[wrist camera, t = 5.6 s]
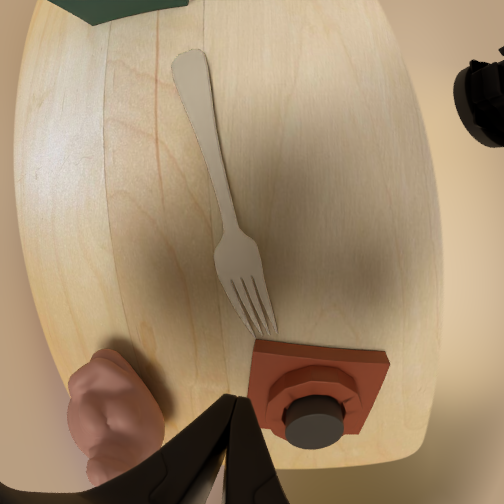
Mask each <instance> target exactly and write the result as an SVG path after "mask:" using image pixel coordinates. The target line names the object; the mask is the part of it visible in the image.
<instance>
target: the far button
mask: <svg viewBox="0 0 504 504" xmlns="http://www.w3.org/2000/svg"><path fill="white" fill-rule="evenodd" d="M343 432H344V424H343V417H342V410H341V406H340V404H339V403H338V402H337V401H336V400H335V399H334V398H332V397H330V396H326V395H318V394H315V395H308V396H305V397H301V398H299V399H297V400H295V401H294V402H293V403H292V404H291V405H290V406H289V407H288V409H287V412H286V424H285V437H286V439H287V440H288V442H289V443H290V444H292V445H294V446H296V447H298V448H302V449H320V448H324V447H327V446H330V445H332V444H334V443H335V442H337V441H338V440H339V439H340V438H341V436H342V435H343Z"/></svg>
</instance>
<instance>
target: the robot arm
mask: <svg viewBox="0 0 504 504" xmlns="http://www.w3.org/2000/svg"><path fill="white" fill-rule="evenodd" d="M499 51H500V53H501V54H502V55H503V56H504V46H503V47H502V48H500V49H499ZM474 64H475V65H474ZM469 65H470V74H471V75H470V79H471V94H472V106H473V123H474V125H475V126H476V127H478V128H481V129H483V130H486V131H488V132H490V133H492V134H495V135H497V136H499V137H501V138H503V139H504V60H503V61H501V62H498V63H497V62H494V63H492V64H490V65H488V66H487V65H485V64H483V63H481V62H479V61H477V60H474V59H473V60H471V61H470V62H469ZM477 119H478V120H479V123H478V121H477ZM225 454H226V457H225ZM224 457H225V468H224V480H223V493H222V504H290V503H289V501H288V499H287V498H286V495H285V493H284V491H283V488H282V486H281V484H280V481H279V479H278V476H277V475H276V471H275V468H274V465H273V462H272V460H271V457H270V454H269V451H268V448H267V446H266V443H265V440H264V437H263V434H262V431H261V428H260V425H259V423H258V420H257V417H256V414H255V411H254V408H253V405H252V402H251V399H250V398H247V397H242V396H238V397H237V396H236V395H231V394H223V395H222V396H221V397H220V398H219V399H218V400H217V401H216V402H214V403H213V404H212V405H211V406H210V407H209V408H208V409H207V410H205V411H204V412H203V413H202V414H201V415H200V416H199V417H197V418H196V419H195V420H194V421H193V422H192V423H190V424H189V425H188V426H187V427H186V428H184V429H183V430H182V431H181V432H180V433H178V434H177V435H176V436H175V437H174V438H172V439H171V440H170V441H169V442H167V443H166V444H165V445H164V446H162V447H161V448H160V449H159V450H157V451H156V452H155V453H153V454H152V455H151V456H149V457H148V458H147V459H145V460H144V461H142V462H141V463H140V464H138V465H136V466H135V467H133V468H131V469H130V470H128V471H126V472H124V473H122V474H121V475H119V476H117V477H115V478H113V479H111V480H109V481H107V482H105V483H103V484H101V485H99V486H97V487H94V488H92V489H90V490H87V491H83V492H77V493H41V492H26V491H19V490H15V489H12V488H9V487H7V486H5V485H4V484H2V483H1V482H0V504H205V503H206V500H207V498H208V496H209V493H210V491H211V489H212V486H213V484H214V482H215V479H216V477H217V474H218V472H219V469H220V467H221V465H222V462H223V460H224Z"/></svg>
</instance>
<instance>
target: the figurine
mask: <svg viewBox="0 0 504 504" xmlns="http://www.w3.org/2000/svg"><path fill="white" fill-rule="evenodd" d="M68 388H69V392H70V396H71V399H70V402H69V406H68V412H67V421H68V426H69V430H70V433H71V435H72V438H73V440H74V441H75V443H76V444H77V446H78V447H79V449H80V450H81V451H82V452H83V453H84V454H85V455H86V456H87V457H88V458H89V460H88V462H87V471H86V473H87V476H88V479H89V481H90V482H91V483H92V484H93V485H94V486H96V487H97V486H99V485H101V484H103V483H105V482H107V481H109V480H111V479H113V478H115V477H117V476H119V475H121V474H122V473H124V472H126V471H128V470H130V469H131V468H133V467H135V466H136V465H138V464H140V463H141V462H142V461H144V460H145V459H147V458H148V457H149V456H151V455H152V454H153V453H155V452H156V451H157V450H159V449H160V448H161V446H162V443H163V440H164V434H165V425H164V418H163V415H162V412H161V409H160V407H159V405H158V404H157V402H156V400H155V399H154V398H153V396H152V394H151V392H150V391H149V389H148V388H147V387H146V385H145V384H144V382H143V381H142V380H141V378H140V377H139V376H138V375H137V373H136V372H135V371H134V370H133V368H132V367H131V365H130V364H129V363H128V362H127V361H126V360H125V359H124V358H123V357H122V356H121V355H120V354H119V353H118V352H116V351H115V350H111V349H101V350H98V351H97V352H96V353H94V354H93V356H92V358H91V360H90V362H89V363H87V364H85V365H83V366H82V367H81V368H79V369H78V370H77V371H76V372H75V373H74V374H72V375H71V377H70V379H69V382H68Z"/></svg>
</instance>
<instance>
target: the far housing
mask: <svg viewBox="0 0 504 504" xmlns="http://www.w3.org/2000/svg"><path fill="white" fill-rule="evenodd" d="M389 366H390V362H389V360H388V357H387V355H386V353H385V352H383V351H365V350H350V349H338V348H326V347H316V346H307V345H298V344H289V343H281V342H273V341H266V340H259V339H256V341H255V345H254V349H253V356H252V364H251V372H250V379H249V387H248V395H247V398H250V399H251V402H252V405H253V408H254V411H255V414H256V417H257V420H258V423H259V425H260V428H265V429H271V431H272V432H273V434H275V435H276V436H278V437H280V438H283V439H285V440H287V439H286V437H285V424H286V412H287V409H288V407H289V406H290V405H291V404H292V403H293V402H294V401H295V400H297V399H299V398H301V397H305V396H308V395H315V394H318V395H326V396H330V397H332V398H334V399H335V400H336V401H337V402H338V403H339V404H340V406H341V410H342V417H343V424H344V432H343V435H344V434H359V432H360V431H361V429H362V427H363V425H364V423H365V421H366V419H367V417H368V414H369V412H370V410H371V408H372V406H373V404H374V402H375V399H376V397H377V395H378V393H379V390H380V388H381V386H382V383H383V381H384V379H385V376H386V374H387V371H388V369H389ZM343 435H342V436H343ZM287 441H288V440H287Z"/></svg>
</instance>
